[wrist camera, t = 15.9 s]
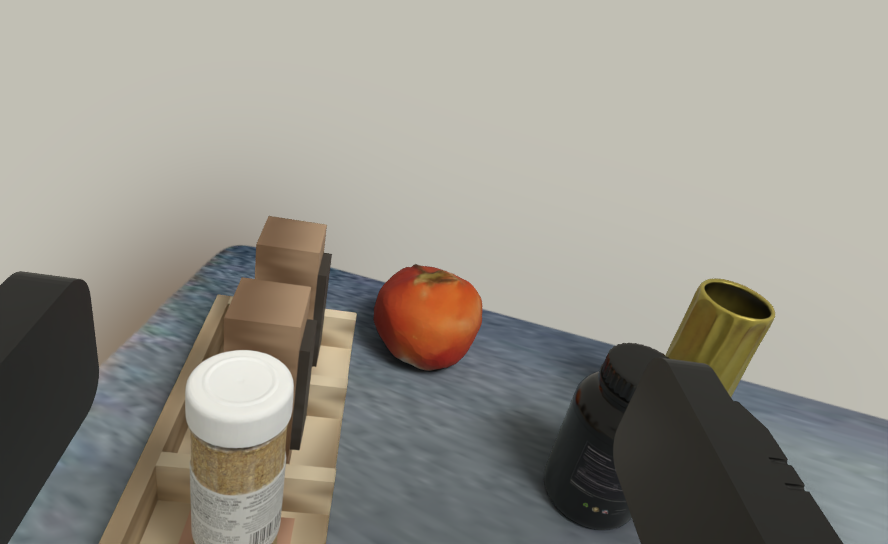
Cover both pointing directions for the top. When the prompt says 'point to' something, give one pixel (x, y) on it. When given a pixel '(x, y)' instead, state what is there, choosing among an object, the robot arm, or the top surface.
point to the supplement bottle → (596, 441)
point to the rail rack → (314, 401)
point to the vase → (723, 329)
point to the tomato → (428, 316)
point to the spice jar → (238, 446)
